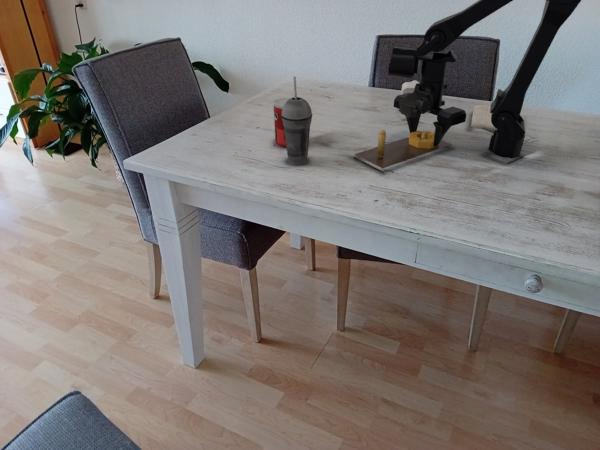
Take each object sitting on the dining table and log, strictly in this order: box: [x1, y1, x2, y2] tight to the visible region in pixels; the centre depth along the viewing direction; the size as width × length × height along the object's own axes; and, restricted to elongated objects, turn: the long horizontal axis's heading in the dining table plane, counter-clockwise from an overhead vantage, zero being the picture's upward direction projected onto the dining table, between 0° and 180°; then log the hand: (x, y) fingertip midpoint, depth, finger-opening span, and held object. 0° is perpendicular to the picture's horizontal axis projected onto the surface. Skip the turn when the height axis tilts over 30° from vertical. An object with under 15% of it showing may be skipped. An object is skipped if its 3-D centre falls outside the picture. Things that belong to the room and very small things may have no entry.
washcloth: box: [470, 104, 497, 133], centre depth 130 cm, size 12×18×3 cm, turn 159°
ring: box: [408, 130, 439, 149], centre depth 116 cm, size 7×7×2 cm
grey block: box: [400, 79, 420, 95], centre depth 141 cm, size 8×10×10 cm
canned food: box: [273, 97, 292, 149], centre depth 118 cm, size 8×8×11 cm
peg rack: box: [353, 129, 452, 174], centre depth 111 cm, size 10×24×8 cm, turn 125°
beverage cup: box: [281, 76, 313, 166], centre depth 105 cm, size 7×7×20 cm
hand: (423, 141), depth 116 cm, fingers closed on ring, 7 cm apart
